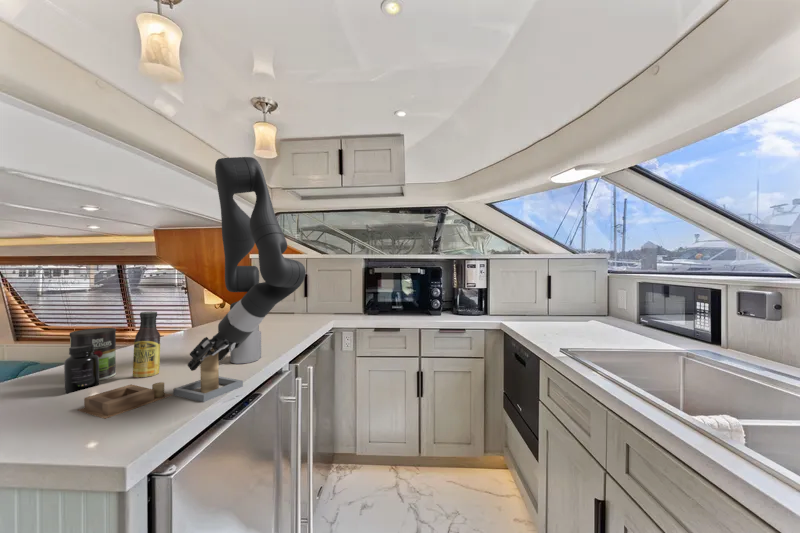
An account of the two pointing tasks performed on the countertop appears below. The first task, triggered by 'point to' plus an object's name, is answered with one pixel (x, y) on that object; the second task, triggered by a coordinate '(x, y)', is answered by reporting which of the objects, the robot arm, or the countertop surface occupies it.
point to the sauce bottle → (147, 347)
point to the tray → (203, 397)
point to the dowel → (209, 373)
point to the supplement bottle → (81, 368)
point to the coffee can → (99, 347)
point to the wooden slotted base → (122, 400)
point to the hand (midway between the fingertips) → (204, 362)
